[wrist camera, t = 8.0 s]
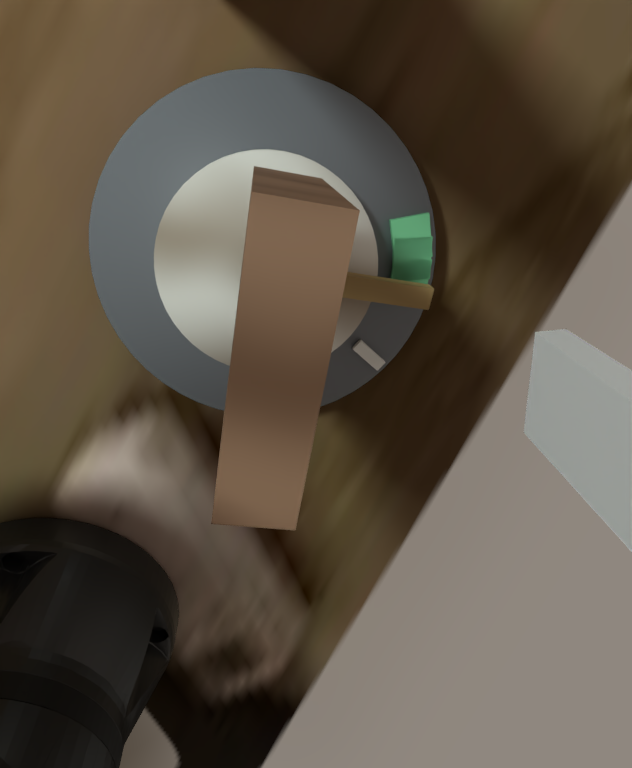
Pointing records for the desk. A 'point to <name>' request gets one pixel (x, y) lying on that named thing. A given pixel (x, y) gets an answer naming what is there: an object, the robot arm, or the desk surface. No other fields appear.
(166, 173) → the plate
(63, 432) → the desk surface
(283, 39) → the desk surface
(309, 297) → the dial
